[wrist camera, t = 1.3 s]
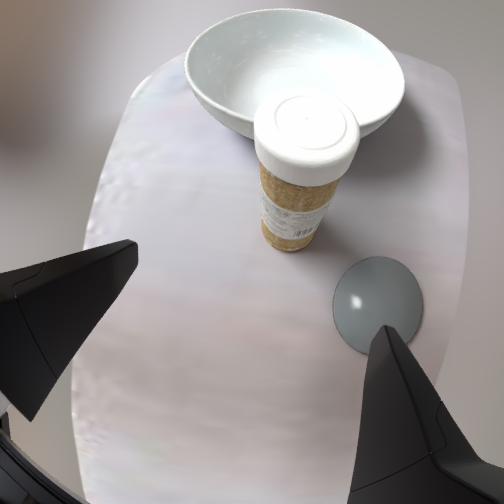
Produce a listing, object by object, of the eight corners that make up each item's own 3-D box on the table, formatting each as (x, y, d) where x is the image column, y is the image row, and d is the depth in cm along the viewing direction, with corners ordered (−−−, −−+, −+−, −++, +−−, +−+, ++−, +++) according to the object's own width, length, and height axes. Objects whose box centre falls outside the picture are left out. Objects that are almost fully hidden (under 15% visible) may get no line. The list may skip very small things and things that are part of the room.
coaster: (386, 371, 20) (390, 372, 19) (313, 319, 21) (314, 319, 21) (431, 292, 21) (436, 291, 21) (364, 240, 23) (368, 237, 22)
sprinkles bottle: (305, 196, 24) (336, 79, 11) (322, 245, 23) (381, 154, 10) (254, 208, 24) (241, 92, 11) (268, 259, 23) (270, 175, 10)
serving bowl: (389, 75, 28) (404, 37, 22) (370, 208, 24) (400, 171, 17) (240, 37, 31) (236, -2, 24) (163, 146, 26) (139, 102, 20)
